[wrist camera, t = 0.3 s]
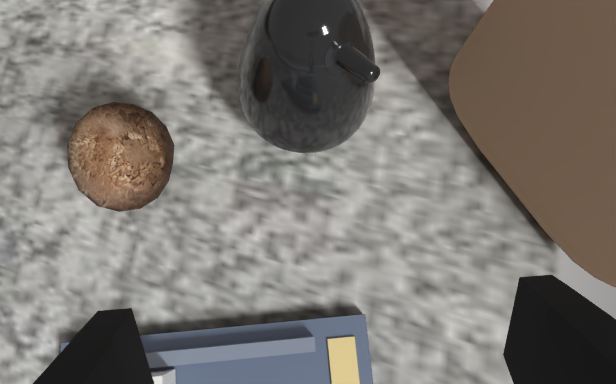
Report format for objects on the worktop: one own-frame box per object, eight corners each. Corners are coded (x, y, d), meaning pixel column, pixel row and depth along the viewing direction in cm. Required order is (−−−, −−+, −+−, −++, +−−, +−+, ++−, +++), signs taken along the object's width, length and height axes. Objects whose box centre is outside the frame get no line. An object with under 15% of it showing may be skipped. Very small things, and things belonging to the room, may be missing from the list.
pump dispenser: (296, 193, 40) (305, 124, 25) (217, 99, 41) (183, -19, 27) (389, 120, 42) (450, 15, 27) (311, 32, 43) (327, -112, 29)
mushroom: (28, 149, 36) (50, 132, 31) (114, 96, 41) (144, 75, 36) (99, 233, 39) (129, 229, 34) (173, 175, 43) (208, 164, 39)
